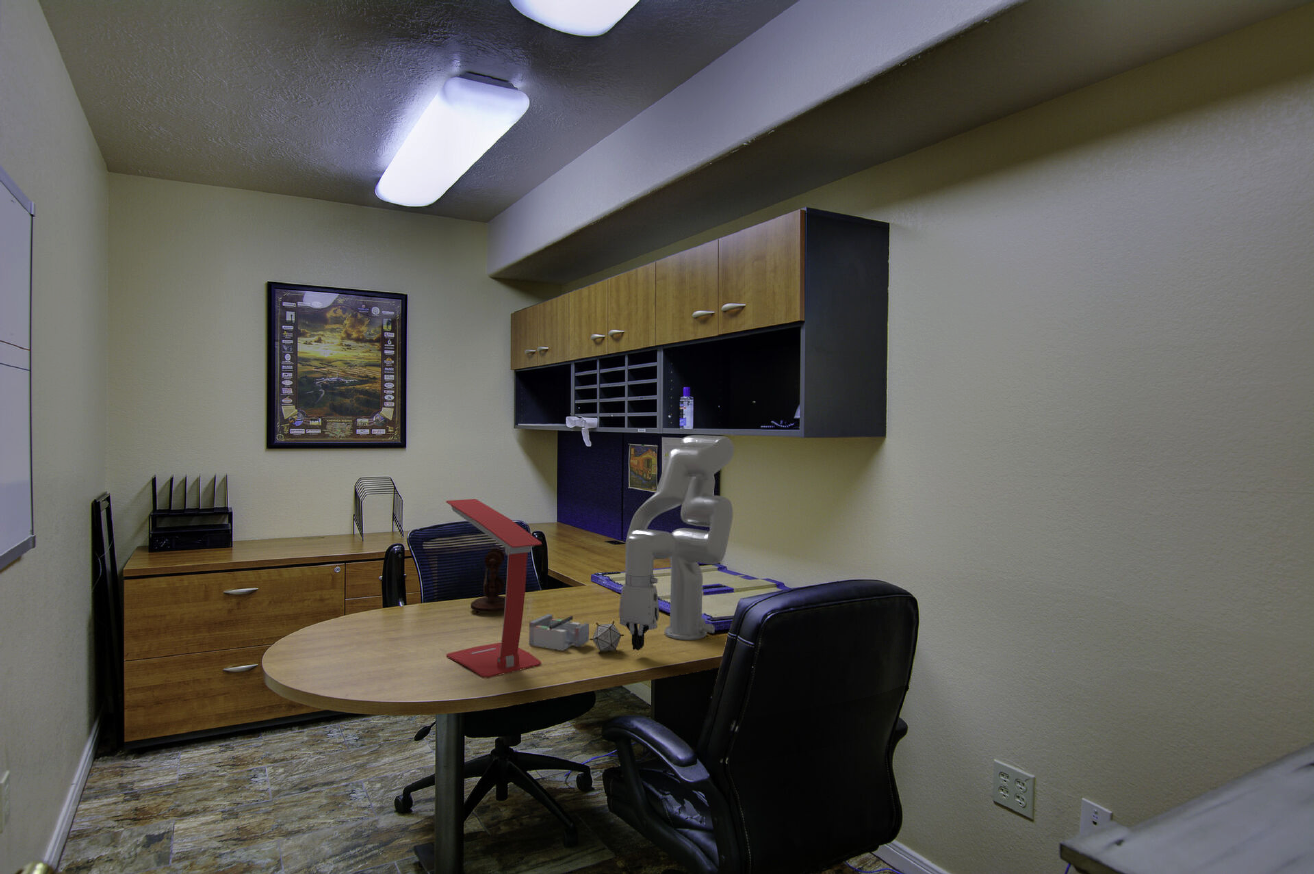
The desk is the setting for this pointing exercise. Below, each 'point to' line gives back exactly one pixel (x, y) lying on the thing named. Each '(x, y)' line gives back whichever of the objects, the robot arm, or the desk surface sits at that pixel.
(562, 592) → the desk surface
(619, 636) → the game die
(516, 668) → the desk lamp
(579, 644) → the grey channel block
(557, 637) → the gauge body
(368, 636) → the desk surface
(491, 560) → the brown jointed stand
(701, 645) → the desk surface
